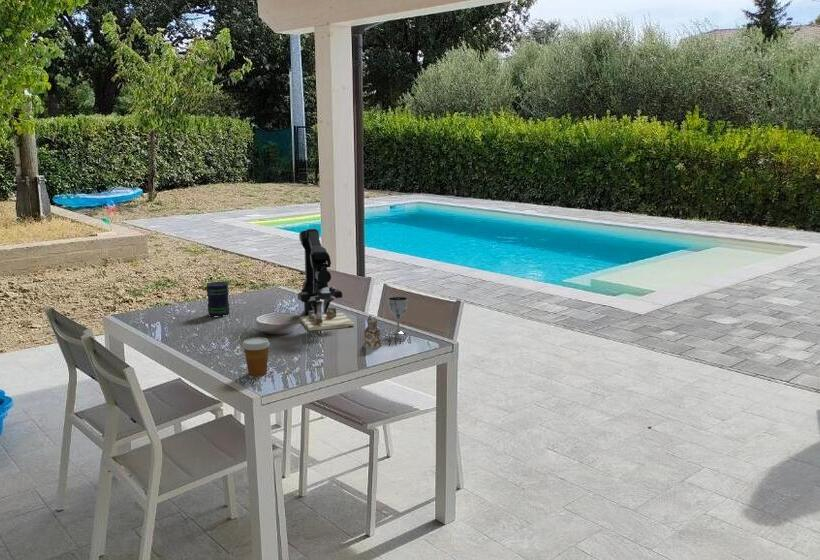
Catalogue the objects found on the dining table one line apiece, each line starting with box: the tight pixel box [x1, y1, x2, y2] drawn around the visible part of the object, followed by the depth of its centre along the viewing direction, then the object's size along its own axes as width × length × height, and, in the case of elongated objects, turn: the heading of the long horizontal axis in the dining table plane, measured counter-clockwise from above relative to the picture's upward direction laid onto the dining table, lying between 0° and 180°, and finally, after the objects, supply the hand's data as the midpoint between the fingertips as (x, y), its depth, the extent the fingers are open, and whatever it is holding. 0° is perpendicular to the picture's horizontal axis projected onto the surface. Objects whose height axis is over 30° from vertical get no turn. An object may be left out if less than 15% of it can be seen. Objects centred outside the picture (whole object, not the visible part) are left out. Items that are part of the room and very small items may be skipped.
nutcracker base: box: [299, 306, 355, 331], centre depth 338 cm, size 20×20×6 cm
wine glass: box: [388, 295, 408, 335], centre depth 320 cm, size 8×8×15 cm
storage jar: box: [206, 281, 230, 316], centre depth 354 cm, size 10×10×15 cm
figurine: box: [362, 315, 382, 349], centre depth 301 cm, size 7×7×12 cm
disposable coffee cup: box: [242, 337, 271, 377], centre depth 268 cm, size 10×10×12 cm
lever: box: [308, 300, 323, 324], centre depth 335 cm, size 16×4×10 cm, turn 20°
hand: (320, 314), depth 330 cm, fingers open, 4 cm apart
